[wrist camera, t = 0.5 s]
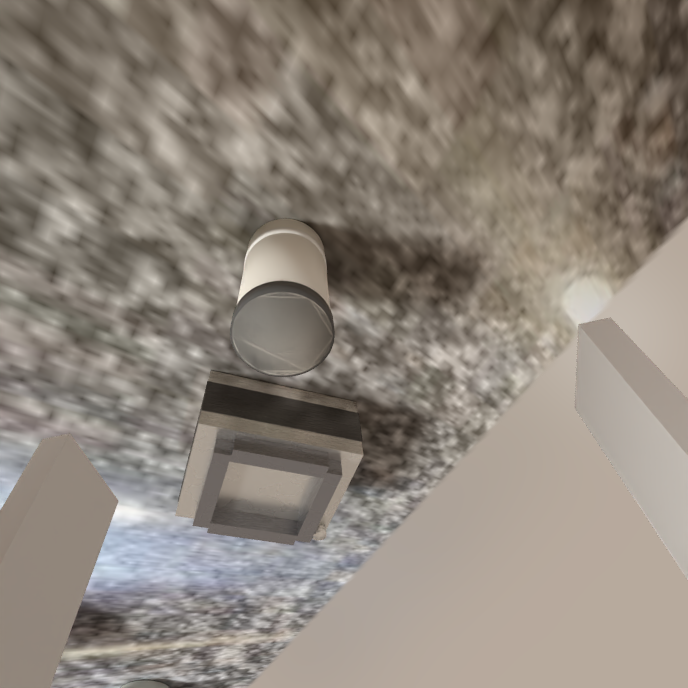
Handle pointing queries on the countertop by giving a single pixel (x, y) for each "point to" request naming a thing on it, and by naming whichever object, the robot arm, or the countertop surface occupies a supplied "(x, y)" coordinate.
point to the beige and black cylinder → (283, 301)
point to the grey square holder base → (269, 460)
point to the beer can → (145, 684)
